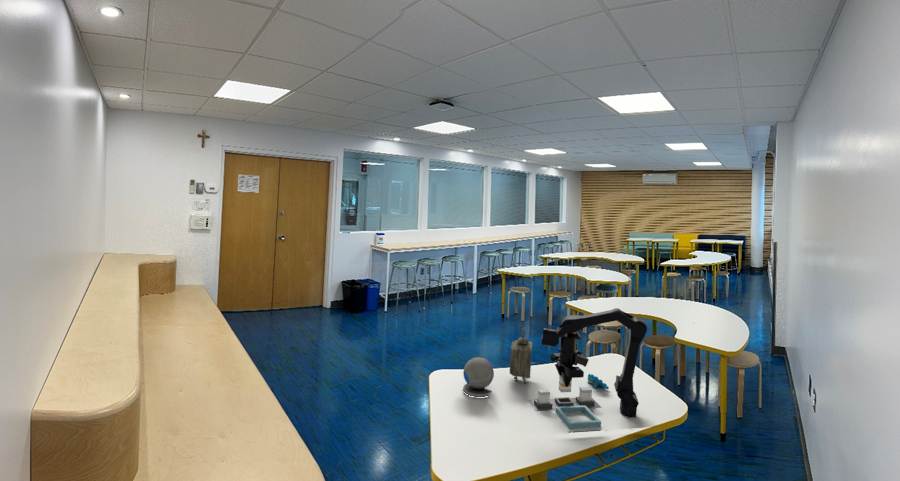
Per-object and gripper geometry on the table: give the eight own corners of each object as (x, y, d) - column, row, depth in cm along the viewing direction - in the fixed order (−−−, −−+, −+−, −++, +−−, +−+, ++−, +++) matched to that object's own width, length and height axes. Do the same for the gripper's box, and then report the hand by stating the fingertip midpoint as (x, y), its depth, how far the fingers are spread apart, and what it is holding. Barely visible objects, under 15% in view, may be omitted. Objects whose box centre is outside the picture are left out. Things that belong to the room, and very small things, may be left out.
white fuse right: (591, 403, 179) (592, 389, 178) (581, 404, 178) (582, 390, 178) (588, 400, 182) (589, 386, 181) (578, 401, 181) (579, 387, 180)
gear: (613, 390, 192) (600, 376, 190) (606, 401, 190) (592, 387, 188) (596, 383, 202) (583, 369, 200) (589, 393, 201) (576, 380, 198)
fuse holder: (601, 410, 177) (602, 403, 176) (535, 414, 172) (535, 407, 172) (590, 400, 186) (591, 393, 185) (527, 403, 181) (527, 396, 181)
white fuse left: (549, 406, 176) (550, 391, 175) (539, 406, 175) (540, 392, 175) (546, 402, 179) (547, 388, 178) (537, 403, 178) (537, 389, 177)
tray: (600, 430, 162) (601, 421, 162) (568, 432, 160) (569, 423, 160) (584, 413, 174) (585, 405, 174) (555, 415, 172) (555, 406, 172)
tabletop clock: (529, 388, 195) (532, 333, 192) (508, 386, 196) (511, 332, 193) (530, 375, 209) (533, 324, 206) (511, 373, 211) (513, 322, 208)
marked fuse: (570, 392, 177) (571, 377, 176) (561, 392, 176) (562, 378, 176) (568, 389, 180) (569, 374, 179) (558, 389, 179) (559, 375, 178)
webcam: (497, 396, 186) (499, 362, 185) (470, 400, 182) (471, 366, 180) (484, 383, 198) (485, 351, 197) (458, 387, 194) (459, 354, 192)
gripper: (597, 356, 168) (595, 395, 170) (576, 339, 186) (573, 374, 188) (570, 357, 166) (567, 396, 168) (551, 340, 185) (549, 375, 186)
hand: (565, 385), depth 178 cm, fingers closed on marked fuse, 3 cm apart
